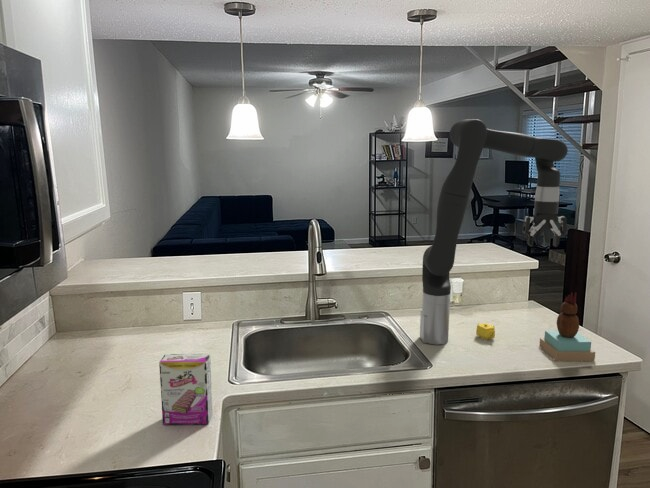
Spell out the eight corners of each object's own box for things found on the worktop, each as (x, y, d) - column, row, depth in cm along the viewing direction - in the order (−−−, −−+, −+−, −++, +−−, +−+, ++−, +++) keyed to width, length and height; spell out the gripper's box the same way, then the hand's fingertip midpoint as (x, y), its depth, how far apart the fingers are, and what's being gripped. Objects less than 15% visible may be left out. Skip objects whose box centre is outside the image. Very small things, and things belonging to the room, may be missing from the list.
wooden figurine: (581, 339, 154) (585, 294, 151) (562, 339, 154) (566, 294, 151) (570, 332, 160) (575, 288, 157) (553, 332, 160) (557, 288, 158)
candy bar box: (162, 426, 116) (157, 362, 113) (168, 415, 121) (164, 353, 118) (209, 425, 116) (206, 361, 113) (213, 414, 121) (210, 352, 118)
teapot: (501, 340, 169) (502, 326, 168) (488, 343, 167) (489, 328, 166) (485, 332, 176) (486, 319, 175) (472, 335, 174) (473, 321, 173)
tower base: (556, 361, 152) (557, 343, 151) (539, 346, 164) (540, 329, 163) (594, 361, 152) (596, 343, 151) (574, 346, 164) (576, 329, 163)
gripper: (530, 200, 163) (527, 248, 166) (573, 200, 163) (568, 248, 166) (521, 198, 170) (518, 244, 173) (562, 198, 170) (558, 244, 173)
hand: (543, 246), depth 170 cm, fingers open, 8 cm apart
